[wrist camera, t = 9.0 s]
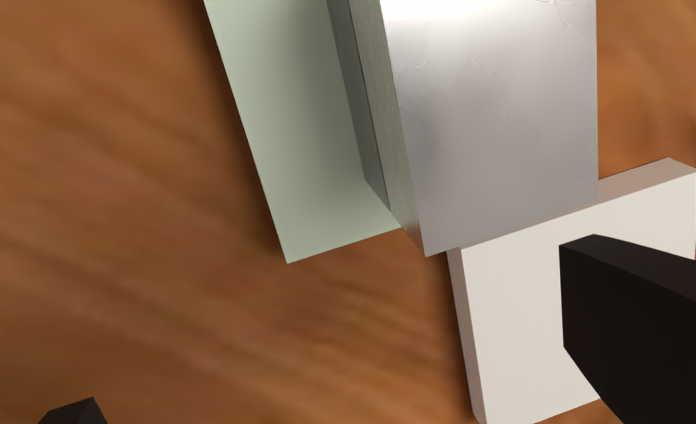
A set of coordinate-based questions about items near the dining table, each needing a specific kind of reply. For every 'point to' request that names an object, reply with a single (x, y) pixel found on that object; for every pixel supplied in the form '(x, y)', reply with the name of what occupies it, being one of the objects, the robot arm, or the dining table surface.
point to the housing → (471, 110)
